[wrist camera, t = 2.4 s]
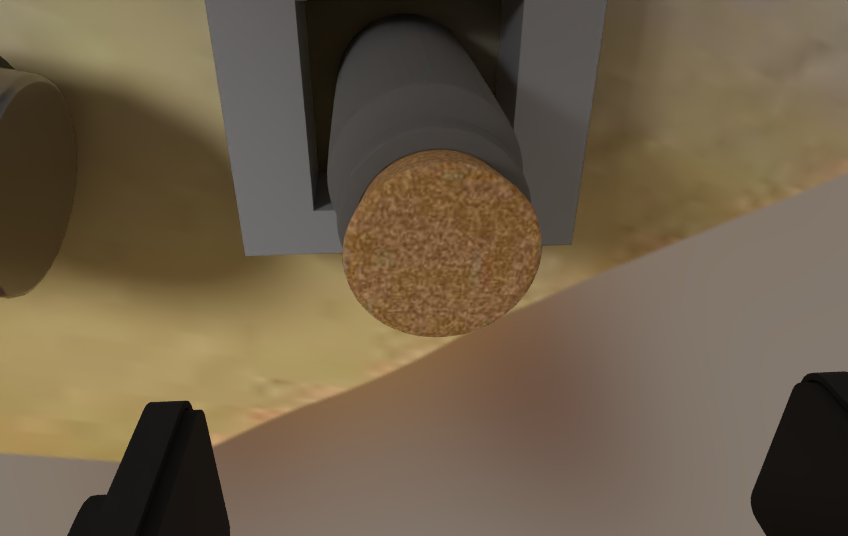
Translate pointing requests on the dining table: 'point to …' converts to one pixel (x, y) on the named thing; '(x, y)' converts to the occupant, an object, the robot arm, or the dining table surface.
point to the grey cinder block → (295, 126)
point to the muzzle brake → (33, 177)
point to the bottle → (427, 183)
